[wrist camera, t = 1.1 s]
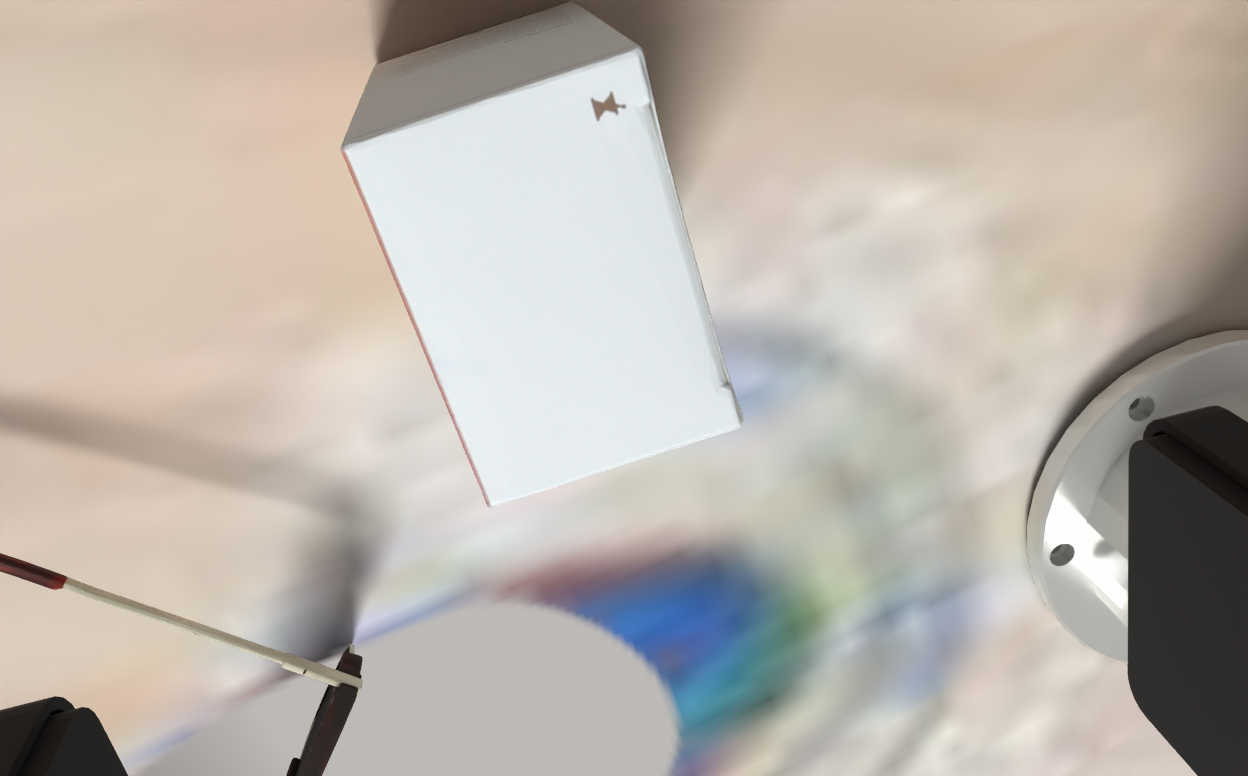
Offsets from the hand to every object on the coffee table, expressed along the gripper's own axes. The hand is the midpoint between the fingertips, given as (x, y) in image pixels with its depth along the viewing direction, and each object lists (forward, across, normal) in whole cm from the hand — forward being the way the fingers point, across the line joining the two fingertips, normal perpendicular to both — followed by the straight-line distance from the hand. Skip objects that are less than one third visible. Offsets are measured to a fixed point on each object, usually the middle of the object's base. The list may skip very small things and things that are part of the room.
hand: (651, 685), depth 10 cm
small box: (+22, 0, 0) cm, 22 cm away
